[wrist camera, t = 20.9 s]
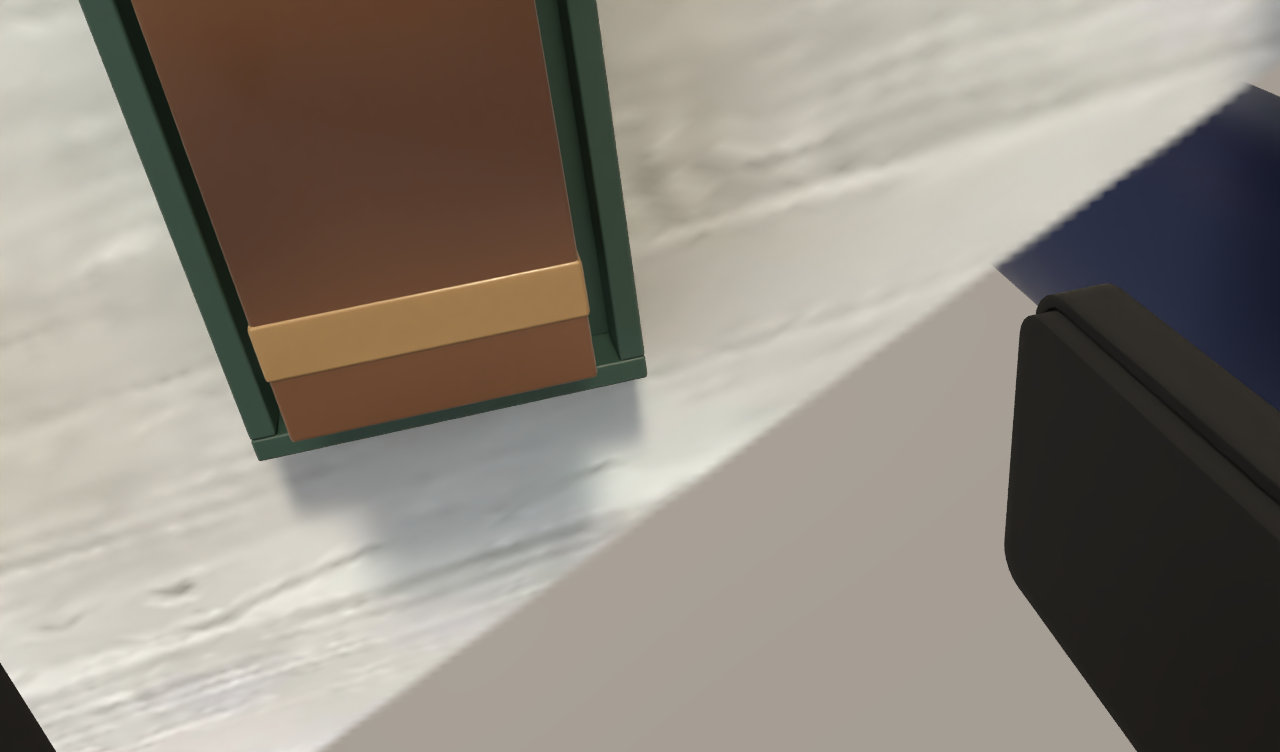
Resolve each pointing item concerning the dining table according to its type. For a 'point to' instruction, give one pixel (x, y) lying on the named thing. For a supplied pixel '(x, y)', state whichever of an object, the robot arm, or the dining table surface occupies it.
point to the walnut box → (381, 198)
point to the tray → (161, 150)
